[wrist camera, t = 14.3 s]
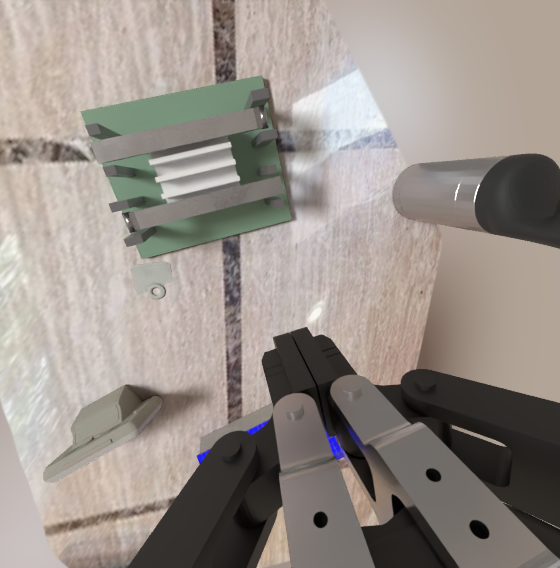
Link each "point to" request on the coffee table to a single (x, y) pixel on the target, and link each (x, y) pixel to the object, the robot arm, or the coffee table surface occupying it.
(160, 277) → the key tag
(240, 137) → the heatsink board
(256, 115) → the strap
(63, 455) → the digital clock
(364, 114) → the coffee table surface
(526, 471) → the robot arm
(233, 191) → the strap
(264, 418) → the blue ribbed slab
